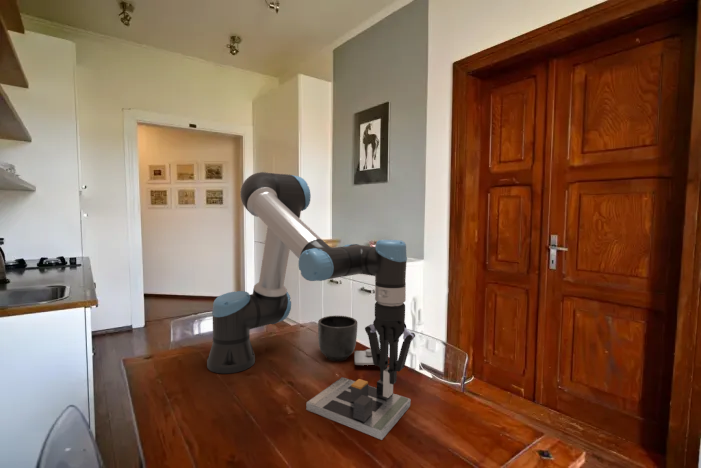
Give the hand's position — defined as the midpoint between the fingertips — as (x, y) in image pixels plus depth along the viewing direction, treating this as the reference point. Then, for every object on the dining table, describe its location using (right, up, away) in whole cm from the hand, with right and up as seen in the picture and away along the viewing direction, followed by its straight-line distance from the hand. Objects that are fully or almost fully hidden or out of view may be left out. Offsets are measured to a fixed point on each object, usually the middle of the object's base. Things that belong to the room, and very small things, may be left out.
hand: (387, 394), depth 90 cm
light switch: (-3, -4, +32) cm, 32 cm away
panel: (-7, -6, +5) cm, 10 cm away
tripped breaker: (-7, -3, +5) cm, 9 cm away
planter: (-14, -4, +37) cm, 40 cm away
